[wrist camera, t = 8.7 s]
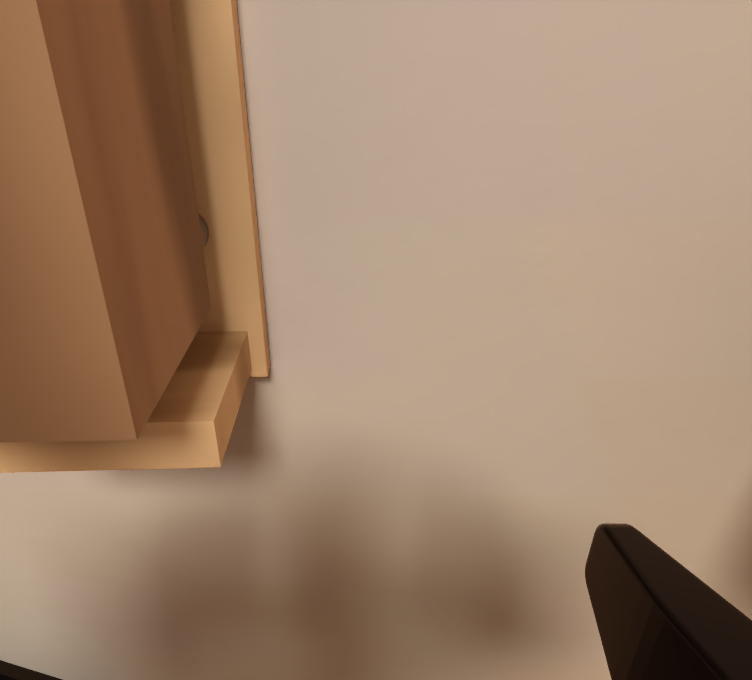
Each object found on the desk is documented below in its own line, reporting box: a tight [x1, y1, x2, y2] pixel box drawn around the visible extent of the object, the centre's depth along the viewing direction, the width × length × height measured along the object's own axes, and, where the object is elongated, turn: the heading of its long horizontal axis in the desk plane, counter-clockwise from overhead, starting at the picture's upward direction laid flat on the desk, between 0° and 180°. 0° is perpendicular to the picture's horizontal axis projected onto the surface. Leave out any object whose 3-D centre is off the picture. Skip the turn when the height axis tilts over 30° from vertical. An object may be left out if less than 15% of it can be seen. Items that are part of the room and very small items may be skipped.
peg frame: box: [0, 0, 270, 473], centre depth 12 cm, size 7×19×6 cm, turn 0°
